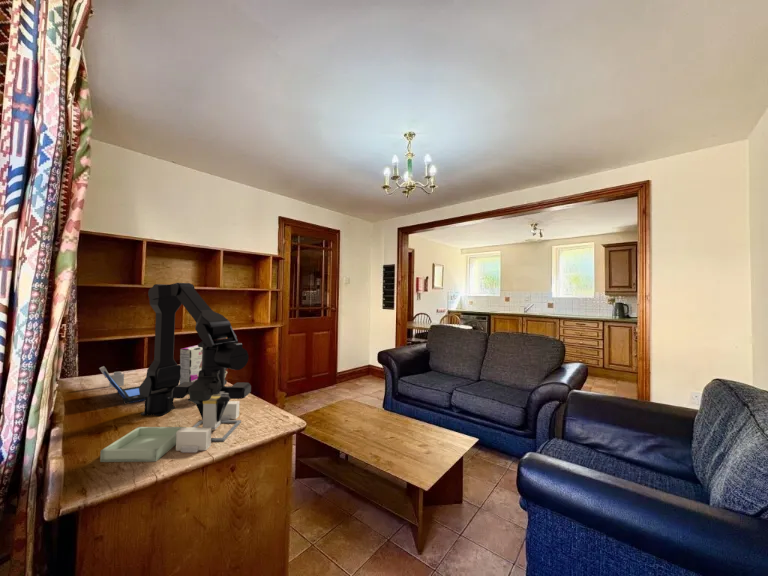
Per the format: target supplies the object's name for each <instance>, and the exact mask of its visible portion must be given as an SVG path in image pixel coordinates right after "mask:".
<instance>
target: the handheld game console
mask: <svg viewBox="0 0 768 576" xmlns="http://www.w3.org/2000/svg"><path fill="white" fill-rule="evenodd" d="M107 372H108V371H107ZM107 372H106V371H104V374H105V376H106V377H107V381H108V382H110V383H111V384H112V385H113V386H114V387H113V388H114V389H115V390H116V391H117V394H118V395H119V397H120V398H122V402H123V404H125V405H128V404H131V403H137V402H141V401H142V402H143V401H145V396H143V395H140V393H139V387H140V385H139V386H133V387H126V388H122V386H118V385H117V384H116V383H115V382H114V381H113V379H112V378H111V377H110V376H109V375H110V374H109V375H108V374H107ZM105 376H104V377H105Z"/></svg>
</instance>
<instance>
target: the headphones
mask: <svg viewBox="0 0 768 576" xmlns="http://www.w3.org/2000/svg"><path fill="white" fill-rule="evenodd" d="M240 402H241V401H240V400H237V401H236V400H229V402H228V404H227V406H226V408H225V410H224V412H223V415H222V417H221V419H220V422H221V423H220V424H234V425H233V426H232V427H230V428H229V430H228V431H227V432H226V433H225V434H224V435H223V436H222V437H212V430H211V427H203V426H202V427H199V426H200V425H201V424H203V420H202V419H201V420H199V421H198V422H196V423H195V424H194V425H193V426H191V427H186V426H181V427H182V428H181V429H179V430H178V431H177V432H176V445H175V452H176V451H178V452H179V451H180V453H198V452H199V451H207V450H208V449H209V448H210V447H211V446H212V444H211V443H212V442H224V441H225V440H227V438H228V437H229V436H230V435H231V434H232V433H233V432H234V430H236V428H237V427H238V426H239V425H240V424H241V423H242V420H240V419H238V417H239V416H240V405H241V404H240Z"/></svg>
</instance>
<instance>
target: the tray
mask: <svg viewBox="0 0 768 576" xmlns="http://www.w3.org/2000/svg"><path fill="white" fill-rule="evenodd" d="M182 427H183V426H137V427H136V428H134V429H133V430H132V431H129V432H128V433H127V434H125V435H124V436H122V437H120V438H118V439H117V440H115V441H114V442H112V443H111V444H109V445H108V446H106V447H104V448H102V449H101V450H100V457H99V458H100V459H99V462H100V463H120V462H121V463H122V462H123V463H128V462H129V463H131V462H132V463H134V462H135V463H136V462H137V463H138V462H139V463H141V462H145V463H146V462H147V463H148V462H155V463H156V462H157V461H158V460H160V458H162V457H163V456H164V455H165V454H166V453H168V452H170V450H171V449H172V448H174V447H176V432H177V431H178V430H179V429H181V428H182Z"/></svg>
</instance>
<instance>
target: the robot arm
mask: <svg viewBox="0 0 768 576" xmlns="http://www.w3.org/2000/svg"><path fill="white" fill-rule="evenodd" d="M147 293H148V294H147V295H148V296H147V297H148V299H149V305H150V307H151V308H152V310H153V311H154V312H155V323H154V325H155V327H154V328H155V329H154V330H155V331H154V356H153V357H154V358H153V361H152V362H151V364H150V365H149V367H148V368H147V370H146V376H145V378H144V380H143V381H142V382H141V384H140V385H139V386H140V387H139V393H140V395H143V396H145V400H144V411H143V412H141V413H140V416H164V415H166V414H168V413H169V412H170V411H172V410H173V409H175V408H176V407H175V405H174V400H175V399H184V398H185V397H186V396H187V395H188V396H189V397H188V399H187V401H188V402H192V403H193V404H195V406H196V407H197V409H198V412H199V414H200V417H201V420H203V401H207V400H209V399H210V398H211V396H212V395H218V394H220V395H221V397H220V398H218V399H217V400H216V401H217V403H218V408H217V422H219V421H220V419H221V417H222V415H223V412H224V410H225V408H226V406H227V404H228V402H229V401H231V400H238V399H239V400H242V399H245V398H246V397H247V396H249V394H250V393H251V392H252V385H251V383H249V382H236V383H234V384H233V385H231V386H229V385H227V382H228V380H227V379H226V377H225V371H227V370H228V369H229V370H234V371H240V370H243V369H244V368H245V366H246V365H247V364H248V362H249V359H250V358H249V355H250V354H249V353H248V351H247V349H245V348H244V347H243V343H242V342H239V341H238V338H237V337H238V336H237V334H236V333H235V331H234V329H233V326H232V325H231V322H230V321H229V319H228V318H226V317H225V316H224V315H223V314H221V313H218V312H216V311H214V310H212V309H211V307H210V306H209V305H208V304H207V302H206V301H205V300H204V298H203V297H201V295H200V293H198V291H197V290H196V289H195V285H194V284H192V283H190V282H175V283H171V284H164V283H163V284H161V283H157V284H155V283H154V285H152V287H150V288H149V289H148V292H147ZM181 306H183V307H184V309H186V311H187V312H188V313H189V314H190V316H191V317H192V318H193V320H194V322H195V328H194V329H195V331H196V333H197V335H198V336H199V338H200V339H201V340H202V341H201V342H199V343H198V344H197V345H198V347H202V370H200V371H199V374H198V378H197V380H196V381H195V382H183V383H181V384H180V378H181V375H180V370H181V366H180V364H178V363H177V362H176V361H175V358H174V353H175V351H174V350H175V329H176V326H175V325H176V312H177V311H179V309H180V307H181ZM225 385H227V386H225ZM187 393H189V394H187Z"/></svg>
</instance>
